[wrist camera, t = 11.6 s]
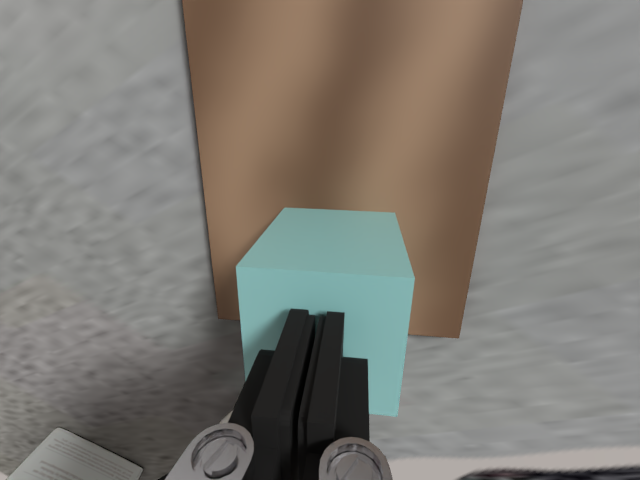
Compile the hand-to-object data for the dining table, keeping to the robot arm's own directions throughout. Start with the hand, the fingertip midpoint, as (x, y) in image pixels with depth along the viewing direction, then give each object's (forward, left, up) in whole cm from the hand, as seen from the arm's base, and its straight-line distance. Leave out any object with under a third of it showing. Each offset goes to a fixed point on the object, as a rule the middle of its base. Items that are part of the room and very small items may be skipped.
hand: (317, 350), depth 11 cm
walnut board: (0, -6, -8) cm, 9 cm away
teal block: (0, 0, -7) cm, 7 cm away
